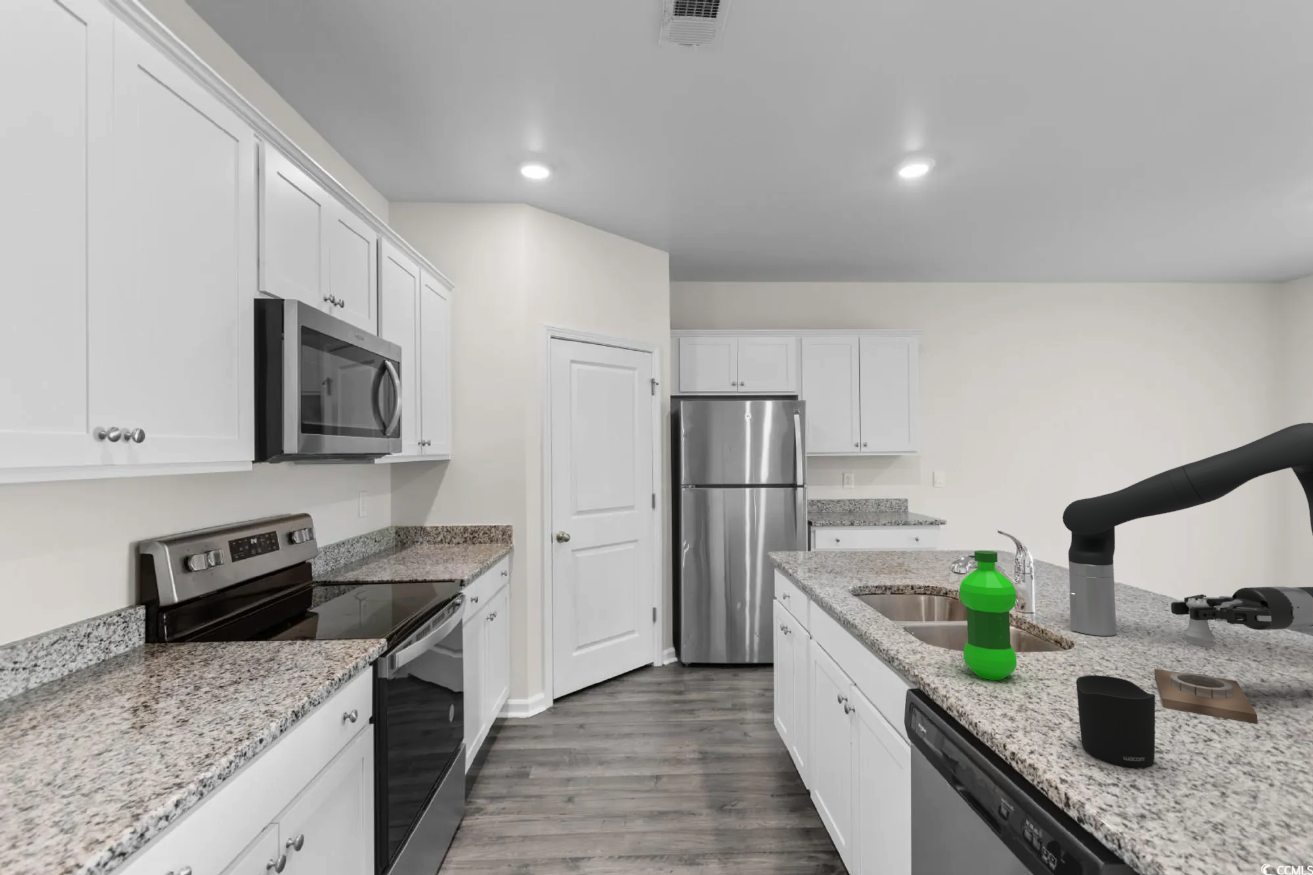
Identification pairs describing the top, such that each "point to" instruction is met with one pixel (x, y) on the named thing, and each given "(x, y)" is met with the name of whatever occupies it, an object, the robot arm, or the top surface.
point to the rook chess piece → (1199, 628)
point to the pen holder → (1116, 720)
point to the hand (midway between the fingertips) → (1182, 611)
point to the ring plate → (1204, 695)
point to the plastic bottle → (988, 619)
